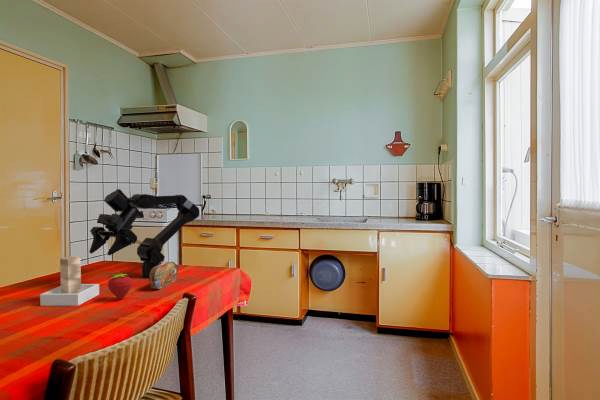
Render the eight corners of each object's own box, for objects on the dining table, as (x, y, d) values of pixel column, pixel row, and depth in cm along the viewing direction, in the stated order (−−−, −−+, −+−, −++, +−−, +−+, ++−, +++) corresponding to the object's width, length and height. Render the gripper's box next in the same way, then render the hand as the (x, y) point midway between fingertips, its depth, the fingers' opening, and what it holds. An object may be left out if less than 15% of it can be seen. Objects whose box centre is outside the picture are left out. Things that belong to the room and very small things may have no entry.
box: (99, 294, 120) (99, 284, 120) (78, 305, 109) (77, 294, 109) (65, 294, 120) (65, 284, 120) (40, 305, 109) (40, 294, 109)
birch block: (73, 294, 117) (72, 256, 117) (81, 296, 116) (80, 257, 115) (61, 298, 114) (60, 258, 113) (68, 299, 112) (67, 259, 111)
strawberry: (128, 302, 112) (127, 271, 112) (104, 302, 112) (103, 271, 111) (136, 296, 118) (135, 267, 117) (113, 297, 117) (112, 267, 117)
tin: (155, 292, 123) (155, 268, 123) (147, 291, 124) (147, 268, 123) (178, 281, 138) (178, 259, 137) (171, 280, 138) (171, 259, 138)
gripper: (94, 205, 132) (65, 238, 123) (130, 206, 125) (102, 241, 115) (113, 224, 140) (87, 256, 130) (148, 226, 132) (123, 261, 123)
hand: (99, 253), depth 124 cm, fingers open, 9 cm apart
